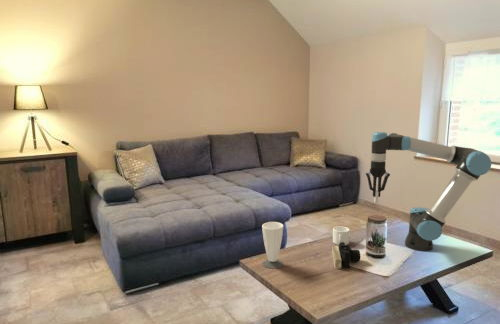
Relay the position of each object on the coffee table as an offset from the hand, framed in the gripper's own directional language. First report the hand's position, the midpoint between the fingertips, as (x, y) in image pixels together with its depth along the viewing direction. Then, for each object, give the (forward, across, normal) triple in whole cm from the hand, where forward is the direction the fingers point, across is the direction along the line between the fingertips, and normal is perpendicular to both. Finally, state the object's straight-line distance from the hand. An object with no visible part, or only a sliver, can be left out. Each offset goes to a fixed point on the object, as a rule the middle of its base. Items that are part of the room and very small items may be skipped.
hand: (376, 202), depth 207 cm
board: (+29, +22, +14) cm, 39 cm away
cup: (+30, +56, +21) cm, 67 cm away
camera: (+30, +15, +15) cm, 37 cm away
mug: (+30, +17, -10) cm, 36 cm away
